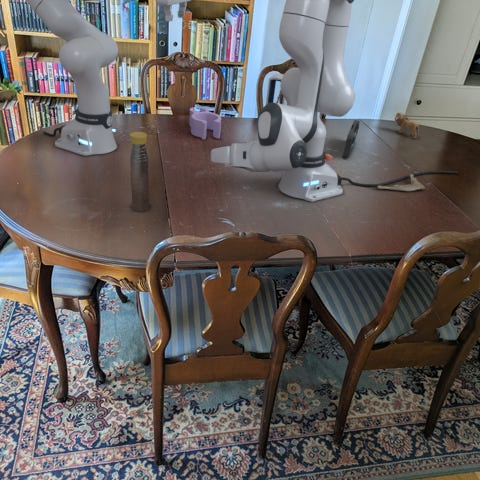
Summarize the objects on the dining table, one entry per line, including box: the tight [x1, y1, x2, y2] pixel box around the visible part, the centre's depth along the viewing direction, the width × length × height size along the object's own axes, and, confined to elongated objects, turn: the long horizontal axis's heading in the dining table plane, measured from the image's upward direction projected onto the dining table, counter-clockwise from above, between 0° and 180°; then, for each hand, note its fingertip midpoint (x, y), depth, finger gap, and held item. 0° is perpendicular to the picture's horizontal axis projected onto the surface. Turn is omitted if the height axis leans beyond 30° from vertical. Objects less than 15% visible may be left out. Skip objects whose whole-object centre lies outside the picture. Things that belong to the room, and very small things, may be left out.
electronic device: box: [254, 73, 287, 141], centre depth 177 cm, size 12×8×30 cm, turn 71°
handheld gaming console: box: [342, 119, 361, 159], centre depth 194 cm, size 23×3×10 cm, turn 161°
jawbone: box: [376, 173, 426, 193], centre depth 169 cm, size 9×20×2 cm, turn 126°
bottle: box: [129, 143, 150, 212], centre depth 135 cm, size 5×5×22 cm
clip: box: [188, 106, 222, 140], centre depth 199 cm, size 20×12×7 cm, turn 23°
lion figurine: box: [394, 112, 422, 139], centre depth 219 cm, size 15×5×9 cm, turn 50°
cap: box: [129, 131, 148, 145], centre depth 129 cm, size 5×5×2 cm
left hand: (175, 19), depth 144 cm, fingers open, 8 cm apart
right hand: (225, 158), depth 143 cm, fingers open, 8 cm apart
